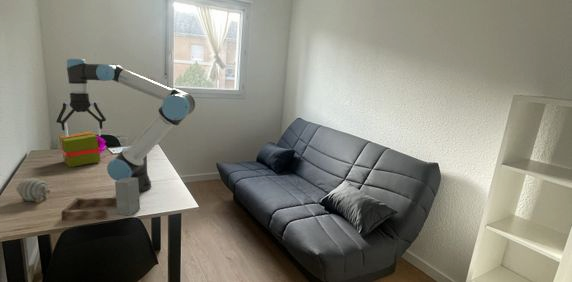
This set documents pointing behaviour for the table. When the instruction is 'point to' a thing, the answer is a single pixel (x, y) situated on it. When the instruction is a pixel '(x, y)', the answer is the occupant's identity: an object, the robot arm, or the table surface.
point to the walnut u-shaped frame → (75, 214)
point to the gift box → (81, 148)
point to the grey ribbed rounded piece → (32, 190)
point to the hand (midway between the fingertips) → (83, 136)
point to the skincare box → (127, 195)
